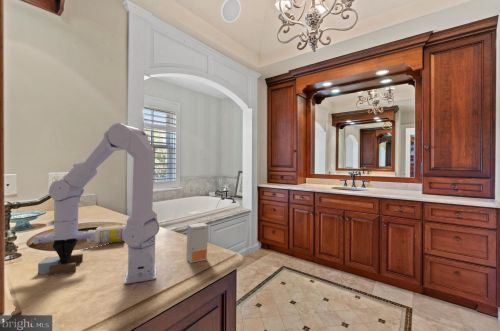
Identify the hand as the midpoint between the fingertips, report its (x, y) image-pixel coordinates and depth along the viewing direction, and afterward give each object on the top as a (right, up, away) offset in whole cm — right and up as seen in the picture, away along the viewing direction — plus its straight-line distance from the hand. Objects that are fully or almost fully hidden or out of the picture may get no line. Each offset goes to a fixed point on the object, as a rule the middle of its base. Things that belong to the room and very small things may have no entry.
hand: (65, 264), depth 69 cm
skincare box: (+38, -2, +9) cm, 39 cm away
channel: (0, -1, 0) cm, 1 cm away
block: (-3, -1, -1) cm, 4 cm away
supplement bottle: (+5, +2, +25) cm, 25 cm away
